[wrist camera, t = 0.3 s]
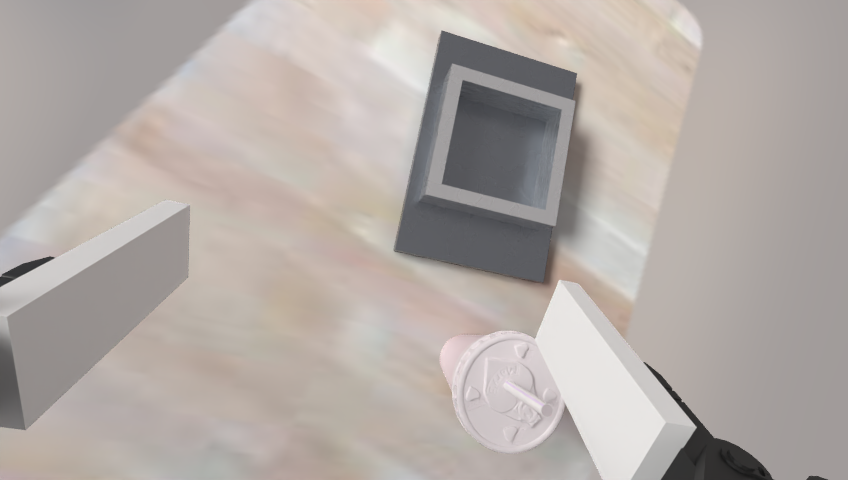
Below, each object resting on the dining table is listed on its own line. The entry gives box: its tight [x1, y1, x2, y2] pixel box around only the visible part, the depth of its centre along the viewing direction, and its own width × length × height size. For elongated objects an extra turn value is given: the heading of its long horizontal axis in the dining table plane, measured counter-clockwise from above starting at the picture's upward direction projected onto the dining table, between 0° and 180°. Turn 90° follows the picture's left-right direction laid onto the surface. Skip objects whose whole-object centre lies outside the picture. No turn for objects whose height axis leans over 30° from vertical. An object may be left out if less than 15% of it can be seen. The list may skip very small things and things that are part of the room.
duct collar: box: [394, 31, 577, 282], centre depth 31 cm, size 18×12×4 cm, turn 168°
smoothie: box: [440, 331, 566, 454], centre depth 24 cm, size 6×6×14 cm
